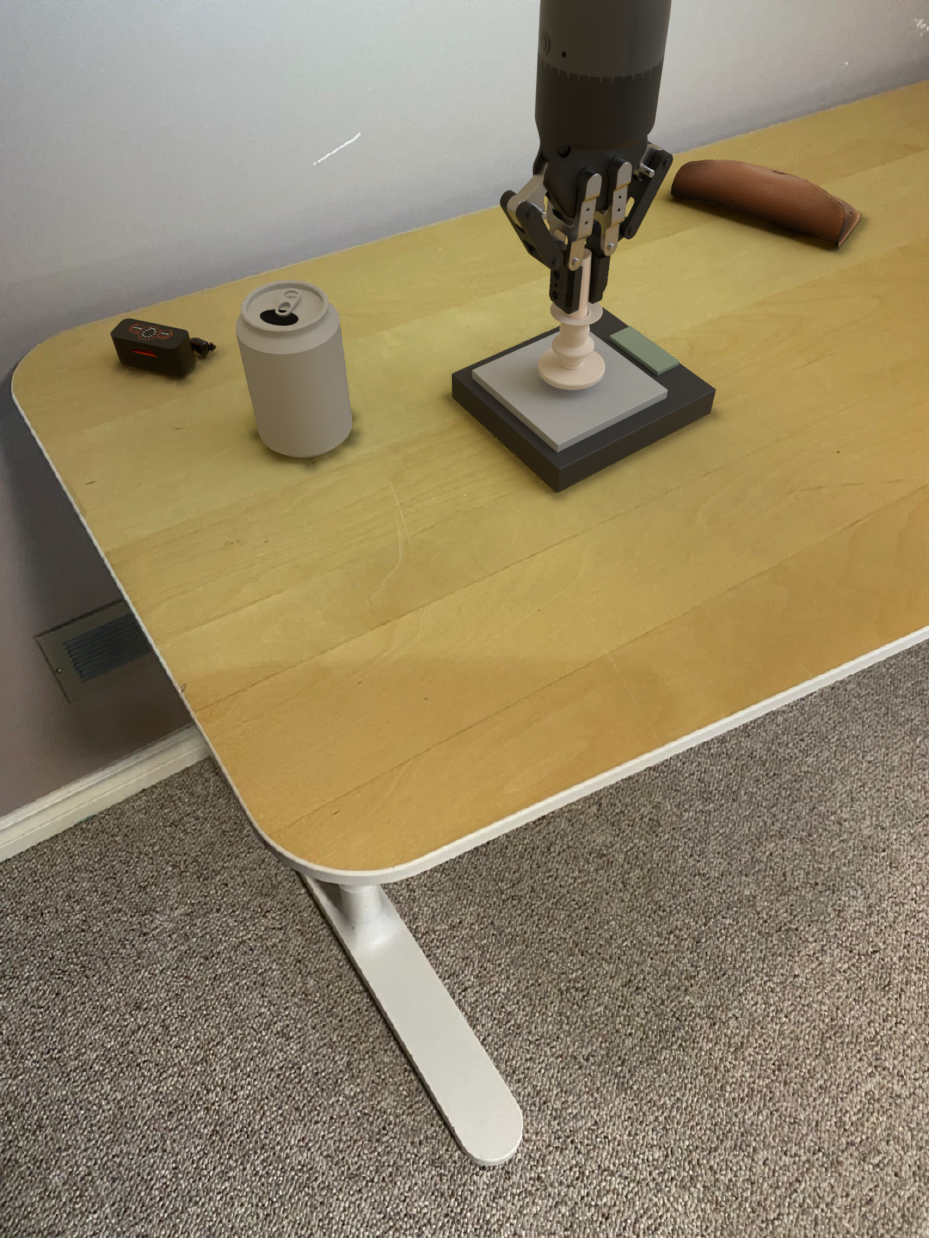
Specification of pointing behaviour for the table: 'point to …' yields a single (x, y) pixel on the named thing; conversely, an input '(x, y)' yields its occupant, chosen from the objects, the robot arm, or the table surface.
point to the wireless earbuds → (157, 347)
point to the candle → (574, 343)
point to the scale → (582, 402)
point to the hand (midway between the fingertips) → (577, 302)
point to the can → (295, 368)
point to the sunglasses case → (767, 196)
